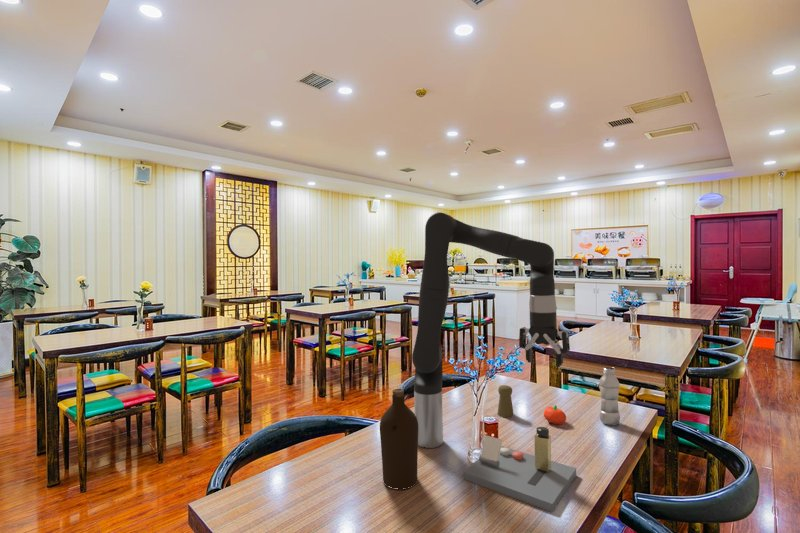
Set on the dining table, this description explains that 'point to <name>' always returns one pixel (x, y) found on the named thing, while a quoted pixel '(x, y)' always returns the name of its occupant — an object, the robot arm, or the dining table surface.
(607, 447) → the dining table surface
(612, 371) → the plastic bottle
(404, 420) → the olive oil
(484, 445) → the cream rectangular block
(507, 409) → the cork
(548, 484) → the control board
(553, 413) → the pumpkin
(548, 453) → the slide lever
